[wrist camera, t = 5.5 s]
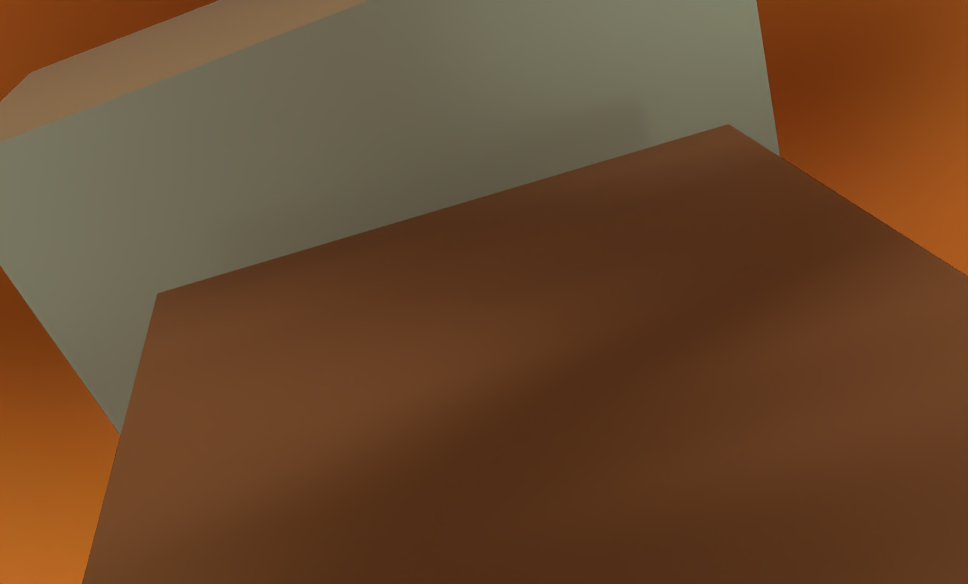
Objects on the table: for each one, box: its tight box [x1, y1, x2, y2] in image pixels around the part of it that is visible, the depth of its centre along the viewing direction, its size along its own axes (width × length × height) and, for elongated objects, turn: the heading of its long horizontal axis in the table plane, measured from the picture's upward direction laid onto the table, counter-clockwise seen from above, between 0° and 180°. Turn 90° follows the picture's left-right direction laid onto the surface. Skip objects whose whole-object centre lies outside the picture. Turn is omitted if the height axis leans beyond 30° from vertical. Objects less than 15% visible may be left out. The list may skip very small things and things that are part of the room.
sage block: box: [0, 0, 780, 435], centre depth 12 cm, size 8×8×4 cm
